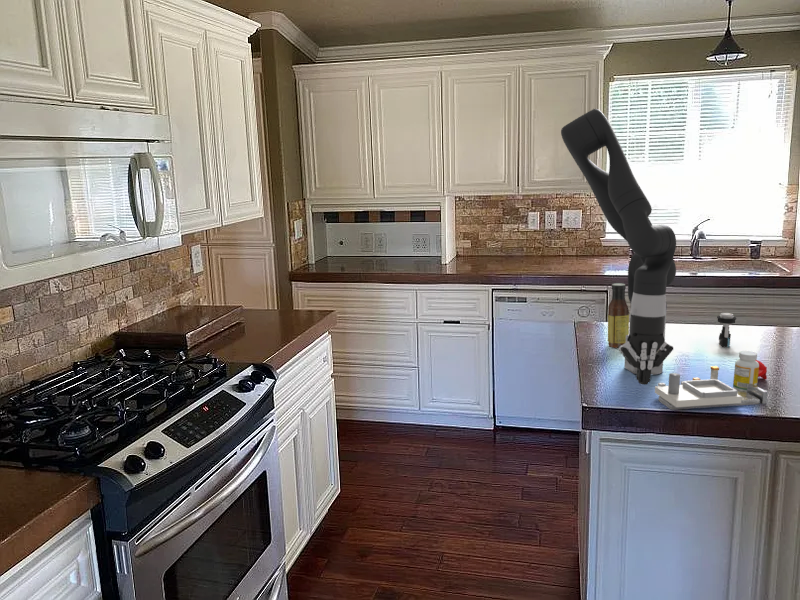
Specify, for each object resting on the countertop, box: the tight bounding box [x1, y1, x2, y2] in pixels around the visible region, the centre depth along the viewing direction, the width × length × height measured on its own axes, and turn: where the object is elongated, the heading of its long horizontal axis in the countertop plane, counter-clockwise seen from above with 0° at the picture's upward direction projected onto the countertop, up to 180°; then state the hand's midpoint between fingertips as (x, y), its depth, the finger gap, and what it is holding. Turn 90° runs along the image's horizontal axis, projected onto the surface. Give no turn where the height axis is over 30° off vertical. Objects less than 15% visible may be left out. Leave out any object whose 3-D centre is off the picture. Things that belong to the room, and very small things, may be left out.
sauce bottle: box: [607, 282, 630, 350], centre depth 205 cm, size 7×6×20 cm
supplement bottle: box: [732, 350, 759, 392], centre depth 165 cm, size 5×5×10 cm
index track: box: [658, 365, 768, 411], centre depth 160 cm, size 24×12×6 cm, turn 97°
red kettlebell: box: [755, 359, 768, 384], centre depth 172 cm, size 8×6×6 cm
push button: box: [716, 312, 737, 348], centre depth 205 cm, size 7×5×10 cm
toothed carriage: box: [654, 372, 742, 407], centre depth 157 cm, size 16×11×6 cm
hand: (642, 383), depth 156 cm, fingers closed
